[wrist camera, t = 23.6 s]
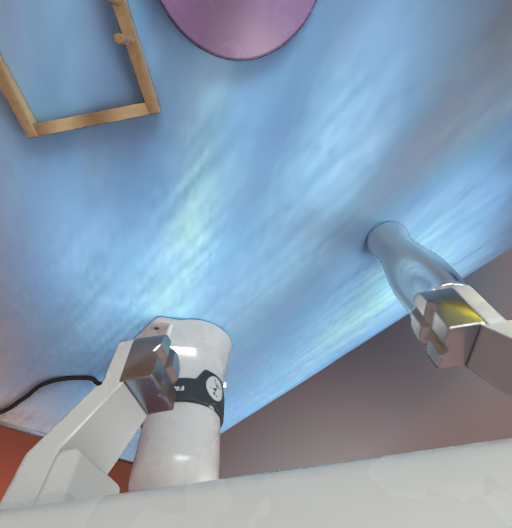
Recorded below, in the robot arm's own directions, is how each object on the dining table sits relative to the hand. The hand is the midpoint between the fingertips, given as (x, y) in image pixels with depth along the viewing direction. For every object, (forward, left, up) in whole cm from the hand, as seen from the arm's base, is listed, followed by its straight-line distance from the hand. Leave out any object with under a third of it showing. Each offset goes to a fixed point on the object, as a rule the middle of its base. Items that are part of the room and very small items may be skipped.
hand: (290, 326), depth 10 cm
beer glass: (+8, -24, -31) cm, 40 cm away
